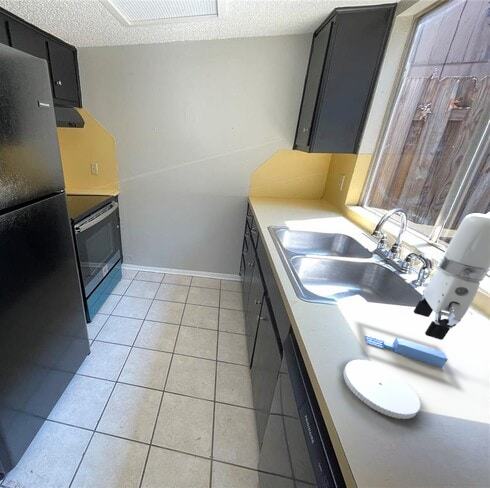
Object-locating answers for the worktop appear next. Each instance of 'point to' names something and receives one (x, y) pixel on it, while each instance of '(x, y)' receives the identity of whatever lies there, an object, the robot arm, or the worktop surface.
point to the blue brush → (410, 350)
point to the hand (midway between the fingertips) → (426, 325)
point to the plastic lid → (381, 389)
